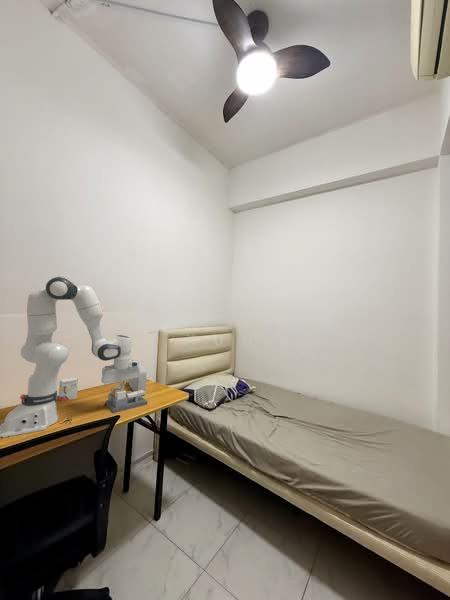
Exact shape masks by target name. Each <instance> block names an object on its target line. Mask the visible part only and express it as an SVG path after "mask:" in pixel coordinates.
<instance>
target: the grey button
mask: <svg viewBox="0 0 450 600" xmlns="http://www.w3.org/2000/svg"><path fill="white" fill-rule="evenodd" d="M126 391H127V390H125V389H121V390H118V391H115V399H116V400H120V399H125V398H126Z"/></svg>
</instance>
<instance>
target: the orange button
mask: <svg viewBox="0 0 450 600" xmlns="http://www.w3.org/2000/svg"><path fill="white" fill-rule="evenodd" d="M118 390H122V388H121V389H118V385H115V386H111V387H110V393H111V395H112V396H115V391H118Z"/></svg>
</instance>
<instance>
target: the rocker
mask: <svg viewBox="0 0 450 600" xmlns="http://www.w3.org/2000/svg"><path fill="white" fill-rule="evenodd" d="M144 395H146V392H145V391H143V390H140V391H135V392H134V391H132V392H131V393H126V397H127V398H132V397H136V396H144Z"/></svg>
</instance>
